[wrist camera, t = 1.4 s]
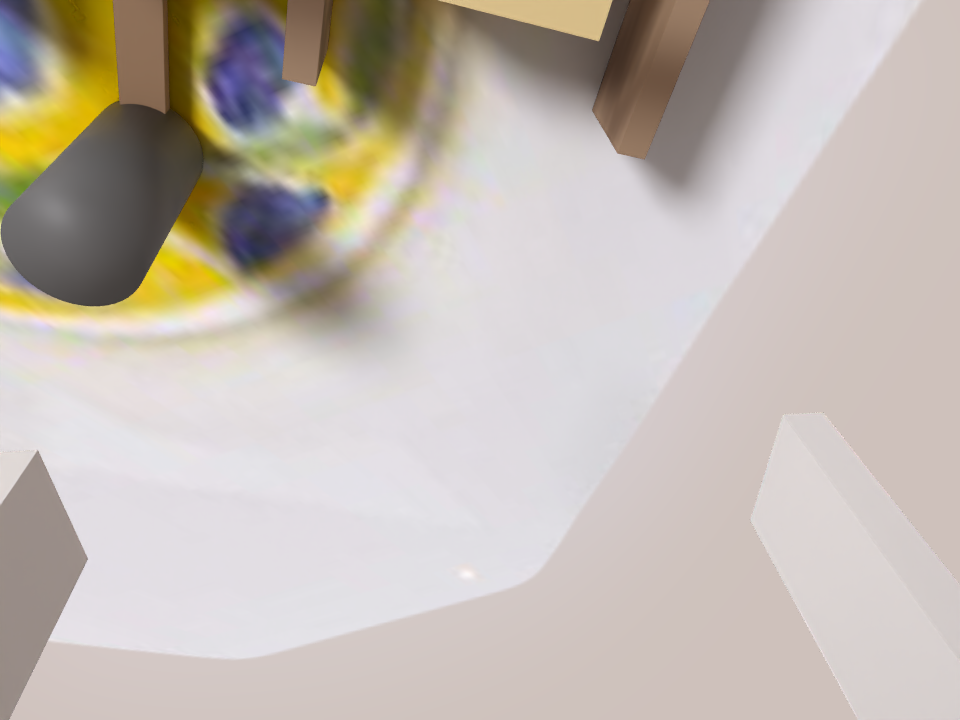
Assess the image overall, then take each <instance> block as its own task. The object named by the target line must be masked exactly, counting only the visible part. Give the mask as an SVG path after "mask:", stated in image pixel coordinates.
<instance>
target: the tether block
mask: <svg viewBox="0 0 960 720" xmlns="http://www.w3.org/2000/svg"><path fill="white" fill-rule="evenodd" d="M113 8H114V24H115V39H116V54H117V69H118V85H119V100H120V101H117V102H115V103H113V104H111V105H109V106H108V107H107V108H106V109H104V110H103V111H102V112H101V113H100V114H99V115H98V116H97V117H96V119H95V120H94V121H93V122H92V123H91V124H90V125H89V126H88V127H87V128H86V129H85V130H84V131H83V132H82V133H81V134H80V135H79V136H78V137H77V138H76V139H75V140H74V141H73V142H72V143H71V144H70V145H69V146H68V147H67V148H66V149H65V150H64V151H63V152H62V153H61V154H60V155H59V156H58V158H57V159H56V160H55V161H54V162H53V163H52V164H51V165H50V166H49V167H48V168H47V169H46V170H45V171H44V172H43V173H42V174H41V175H40V176H39V177H38V178H37V179H36V180H35V181H34V182H33V183H32V184H31V185H30V186H29V187H28V188H27V189H26V190H25V191H24V192H23V193H22V194H21V196H20V197H19V198H18V199H17V200H16V201H15V202H14V203H13V204H12V205H11V206H10V207H9V208H8V210H7V211H6V213H5V215H4V217H3V220H2V224H1V240H2V244H3V247H4V250H5V252H6V254H7V256H8V258H9V260H10V261H11V263H12V264H13V266H14V267H15V268H16V270H17V271H18V272H19V273H20V274H21V275H22V276H23V277H24V278H25V279H26V280H27V281H29V282H30V283H31V284H32V285H34V286H35V287H36V288H38V289H40V290H41V291H43V292H45V293H46V294H48V295H50V296H52V297H54V298H57V299H60V300H62V301H65V302H69V303H72V304H77V305H83V306H105V305H110V304H115V303H117V302H120V301H122V300H124V299H126V298H128V297H129V296H130V295H132V294H133V293H134V292H135V291H136V290H137V289H138V288H139V286H140V284H141V283H142V281H143V279H144V277H145V276H146V274H147V272H148V270H149V268H150V266H151V265H152V263H153V261H154V259H155V257H156V256H157V254H158V252H159V250H160V248H161V246H162V245H163V243H164V241H165V239H166V237H167V236H168V234H169V232H170V230H171V228H172V226H173V225H174V223H175V221H176V219H177V217H178V215H179V214H180V212H181V210H182V208H183V206H184V205H185V203H186V201H187V199H188V197H189V195H190V194H191V192H192V190H193V188H194V186H195V185H196V183H197V181H198V179H199V177H200V175H201V172H202V168H203V152H202V147H201V145H200V142H199V140H198V137H197V135H196V134H195V132H194V131H193V129H192V128H191V127H190V125H189V124H188V123H187V122H186V121H185V120H184V119H183V118H182V117H181V116H180V115H179V114H177V113H176V112H175V111H173V110H172V109H170V97H169V52H168V7H167V0H113Z"/></svg>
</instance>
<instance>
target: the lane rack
mask: <svg viewBox="0 0 960 720" xmlns="http://www.w3.org/2000/svg"><path fill="white" fill-rule="evenodd" d="M709 1H710V0H630V2H629V5H628V8H627V11H626V14H625V17H624V19H623V22H622V25H621V28H620V31H619V34H618V37H617V40H616V43H615V45H614V48H613V51H612V54H611V57H610V60H609V63H608V66H607V69H606V71H605V74H604V77H603V80H602V83H601V86H600V89H599V92H598V94H597V97H596V100H595V103H594V106H593V109H592V111H593V113H594V114H595V116H596V118H597V120H598V121H599V123H600V125H601V126H602V128H603V130H604V131H605V133H606V135H607V136H608V138H609V140H610V142H611V143H612V145H613V147H614V148H615V150H616V152H617V153H618V154H623V155H627V156H632V157H636V158H641V159H645V157H646V155H647V152H648V150H649V147H650V145H651V143H652V140H653V138H654V135H655V133H656V130H657V128H658V126H659V123H660V121H661V118H662V116H663V113H664V111H665V108H666V106H667V104H668V101H669V99H670V96H671V94H672V91H673V89H674V87H675V84H676V82H677V79H678V77H679V74H680V72H681V69H682V67H683V65H684V62H685V60H686V57H687V55H688V52H689V50H690V48H691V45H692V43H693V40H694V38H695V35H696V33H697V30H698V28H699V26H700V23H701V21H702V18H703V16H704V13H705V11H706V9H707V6H708V4H709ZM332 6H333V0H288V6H287V19H286V33H285V46H284V60H283V73H282V79H285V80H289V81H294V82H298V83H303V84H307V85H312V86H316V84H317V81H318V78H319V74H320V71H321V68H322V65H323V62H324V59H325V56H326V52H327V49H328V42H329V33H330V24H331V15H332Z"/></svg>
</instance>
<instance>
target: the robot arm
mask: <svg viewBox="0 0 960 720" xmlns="http://www.w3.org/2000/svg"><path fill="white" fill-rule="evenodd" d="M750 521H751V523H752V525H753V527H754V529H755V531H756V532H757V534H758V536H759V538H760V540H761V541H762V543H763V545H764V547H765V549H766V551H767V553H768V555H769V556H770V558H771V560H772V562H773V564H774V566H775V568H776V569H777V571H778V573H779V575H780V577H781V579H782V580H783V582H784V584H785V586H786V588H787V590H788V591H789V593H790V595H791V597H792V599H793V600H794V603H795V604H796V606H797V608H798V610H799V612H800V614H801V616H802V618H803V619H804V621H805V623H806V625H807V626H808V629H809V630H810V632H811V634H812V636H813V638H814V639H815V641H816V643H817V645H818V647H819V649H820V651H821V653H822V655H823V656H824V658H825V660H826V662H827V664H828V666H829V667H830V669H831V671H832V673H833V675H834V677H835V679H836V680H837V682H838V684H839V686H840V688H841V690H842V691H843V693H844V695H845V697H846V699H847V701H848V703H849V705H850V706H851V708H852V710H853V712H854V714H855V716H856V717H857V719H858V720H960V584H959V582H958V581H957V580H956V579H955V577H954V576H953V575H952V574H951V572H950V571H949V570H948V569H947V567H946V566H945V565H944V564H943V562H942V561H941V560H940V559H939V557H938V556H937V555H936V554H935V552H934V551H933V550H932V549H931V548H930V546H929V545H928V544H927V542H926V541H925V540H924V538H923V537H922V536H921V535H920V534H919V532H918V531H917V530H916V528H915V527H914V526H913V525H912V523H911V522H910V521H909V520H908V518H907V517H906V516H905V515H904V513H903V512H902V511H901V510H900V508H899V507H898V506H897V505H896V503H895V502H894V501H893V499H892V498H891V497H890V496H889V495H888V493H887V492H886V491H885V489H884V488H883V487H882V486H881V484H880V483H879V482H878V481H877V480H876V478H875V477H874V476H873V474H872V473H871V472H870V471H869V469H868V468H867V467H866V466H865V464H864V463H863V462H862V461H861V459H860V458H859V457H858V455H857V454H856V453H855V452H854V450H853V449H852V448H851V447H850V445H849V444H848V443H847V442H846V440H845V439H844V438H843V437H842V435H841V434H840V433H839V432H838V430H837V429H836V428H835V427H834V426H833V424H832V423H831V422H830V420H829V419H828V418H827V417H826V415H825V414H824V413H802V414H783V416H782V419H781V423H780V426H779V429H778V432H777V435H776V439H775V442H774V445H773V448H772V451H771V455H770V458H769V461H768V464H767V467H766V471H765V474H764V477H763V480H762V483H761V487H760V490H759V493H758V496H757V499H756V503H755V506H754V509H753V512H752V515H751V519H750ZM87 560H88V558H87V556H86V554H85V552H84V549H83V547H82V545H81V543H80V541H79V539H78V536H77V534H76V532H75V530H74V528H73V525H72V523H71V521H70V519H69V517H68V515H67V512H66V510H65V508H64V506H63V504H62V502H61V499H60V497H59V495H58V493H57V491H56V488H55V486H54V484H53V482H52V480H51V478H50V475H49V473H48V471H47V469H46V467H45V465H44V462H43V460H42V458H41V456H40V454H39V451H38V450H29V451H8V452H0V720H9V719H10V717H11V714H12V713H13V710H14V708H15V706H16V704H17V702H18V700H19V698H20V696H21V694H22V692H23V690H24V688H25V686H26V684H27V682H28V680H29V678H30V676H31V674H32V672H33V670H34V668H35V666H36V664H37V661H38V660H39V658H40V656H41V653H42V651H43V649H44V647H45V645H46V643H47V641H48V639H49V637H50V635H51V633H52V631H53V629H54V627H55V625H56V623H57V621H58V619H59V617H60V615H61V613H62V611H63V609H64V607H65V605H66V603H67V601H68V599H69V597H70V594H71V592H72V590H73V588H74V586H75V584H76V582H77V580H78V578H79V576H80V574H81V572H82V570H83V568H84V566H85V564H86V562H87Z"/></svg>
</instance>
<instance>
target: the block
mask: <svg viewBox="0 0 960 720" xmlns="http://www.w3.org/2000/svg"><path fill="white" fill-rule="evenodd" d="M439 1H443V2H447V3H450V4H454V5H458V6H462V7H466V8H470V9H474V10H478V11H482V12H486V13H490V14H494V15H498V16H502V17H505V18H509V19H513V20H517V21H521V22H525V23H529V24H533V25H537V26H541V27H545V28H549V29H553V30H557V31H560V32H564V33H568V34H572V35H576V36H580V37H584V38H588V39H592V40H596V41H599V40H600V37H601V34H602V31H603V28H604V25H605V22H606V19H607V16H608V12H609V9H610V6H611V3H612V0H439Z"/></svg>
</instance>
